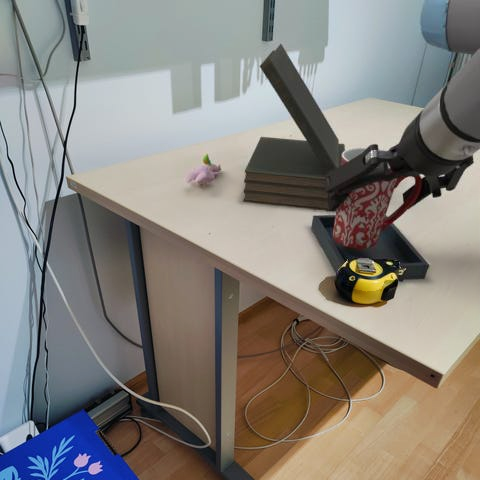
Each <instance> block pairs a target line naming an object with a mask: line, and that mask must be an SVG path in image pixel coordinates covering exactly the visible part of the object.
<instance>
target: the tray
mask: <svg viewBox="0 0 480 480" xmlns="http://www.w3.org/2000/svg"><path fill="white" fill-rule="evenodd" d="M335 215H336V214H327V215H326V214H322V215H321V214H320V215H319V214H318V215H315V214H314V215H312V221H311V227H310V229H311V231H312V233H313V234H314V237H315V238H316V241H317V242H318V244H319V245H320V247H321V249H322V251H323V253H324V255H325V257H326V259H327V260H328V262H329V264H330V266H331V268H332V269H333V271H334V273H335V275H336V276H337V271H338V269H339V268H340V267H341V266H342V265H343V264H344V263H345V262H346V261H347V259H349V258H353V257H362V258H369V259H389V260H397V261H399V262H400V264H399V265H400V267H401V268H406V270H405V274H404V275H400V276H399V277H398V280H397V281H412V280H414V281H415V280H425V279H426V276H427V273H428V271H429V268H430V266H431V265H430V264H429V262H428V261H427V260H426V259H425V258H424V256H423V255H422V254H421V253H420V252H419V250H417V248H416V247H415V246H414V245H413V244H412V243H411V242H410V241H409V240H408V238H407V237H406V236H405V234H403V233H402V231H401V230H400V229H399V227H397V226H396V224H395V223H394V222H393V223H392V224H390V225H389V226H388V227H386V228H385V229H383V230H382V231H381V232H380V234H379V238H378V241H377V243H376V244H375V245H374V246H373V247H370V248H366V249H354V248H349V247H345V246H343V245H341V244H339V243H337V242H336V241H335V240H334V238H333V230H334V223H335ZM387 217H388V215H386V216H385V218H387Z"/></svg>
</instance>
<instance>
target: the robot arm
mask: <svg viewBox="0 0 480 480" xmlns="http://www.w3.org/2000/svg"><path fill="white" fill-rule="evenodd" d="M419 24H420V31H421V36H422V38H423V40H424V41H425V42H426V44H428V45H430V46H433V47H434V48H438V49H443V50H445V51H448V52H450V53H458V54H466V55H471V57H470V58H468V60H467V61H466V62H465V64H463V66H462V67H461V68H460V69H459V70H457V71H458V72H456V74H455V75H454V76H453V77H452V78H451V79H450V80H448V82H447V83H446V84H445V85H444V86H443V87H442V88H441V89H440V90H439V91H438V92H437V93H436V94H435V96H434V97H433V98H432V99H431V100H430V101H428V103H427V104H426V105H425V106H424V107H423V109H422V110H421V111H419V113H418V114H417V115H416V116H415V117H414V118H413V120H411V122H409V124H408V125H407V126H406V128H405V129H404V130H403V133H402V134H401V135H402V136H401V137H400V140H399V141H398V143H397V144H395V145H393V146H391V147H390V148H389V149H388V150H387V151H379V150H378V149H379V145H378V144H377V143H373V144H372V143H371V144H370V145H368V146H367V147H366V148H367V149H366V150H365V151H364V152H363V153H361V154H360V155H358V156H356V157H355V158H353V159H351V160H350V161H348V162H346V163H345V164H343V165H341V166H340V167H338V168H336V169H335V170H333V171H331V172H330V173H328V174H326V175H325V182H326V193H329V194H328V207H329V211H328V212H329V213H331V212H335V211H334V210H335V209H336V208H337V207H338V206H339V205H340V204H341V203H342V202H343V201H344V200H345V199H346V198H347V197H348V192H351V191H353V190H356V189H359V188H361V187H364V186H367V185H369V184H372V183H375V182H378V181H380V180H383V181H386V182H387V181H390V180H393V179H396V178H399V177H401V176H404V177H407V176H409V175H411V176H418V175H420V176H421V175H423V177H421V178H422V187H421V191H420V193H419V195H418V197H417V199H416V200H415V202H414V203H413V204H412V206H411V207H410V208H409V209H408V210H410V209H412V208H413V207H415V206H416V205H418V204H419V203H420V202H422V201H423V200H425V199H426V198H427V197H430V195H432V198H434V199H436V198H440V197H442V189H445V191H446V192H451V191H453V190H455V189H456V187H457V186H458V184H459V182H460V180H461V179H462V177H463V174H464V173H465V171H466V170H467V169H468V168H469V167H471V166H472V165H473V164H474V163H475V162H474V154H475V153H477V152H478V151H479V150H480V0H424V1H423V4H422V7H421V11H420V19H419ZM388 164H389V166H390V168H391V170H392V172H391V173H389V170H388ZM407 178H408V177H407ZM414 186H415V183H414V184H413V185H411V186H410V187H409V188H407V190H405V191H404V192H402V193H401V194H402V195H401V196H402V204H403V203H404V202H405V201H406V200H407V199H408V197H409V196H410V195H411V193H412V191H413V189H414Z"/></svg>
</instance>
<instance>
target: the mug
mask: <svg viewBox="0 0 480 480" xmlns="http://www.w3.org/2000/svg"><path fill="white" fill-rule="evenodd" d="M367 148H368V147H354V148H348V149H345V151H344V152H343V153H342V155H341V156H342V165H343V164H345V163H346V162H348V161H350V160H351V159H353V158H355V157H356V156H358V155H360V154H361V153H363V152H364V151H365V150H366V149H367ZM378 150H379V151H388V150H387V149H383V148H378ZM388 170H389V173H391V172H392V170H391V168H390V166H389V164H388ZM407 178H414V184H415V186H414V189H413V191H412V193H411V195H410V196H409V197H408V199H407V200H406V201H405V202H404V203H403V202H402V203H401V205H400V206H399V207H398V208H397V209H396V210H394V211H393V212H392V213H391V214H390V215H387V212H388V209H389V206H390V203H391V200H392V197H393V194H394V191H395V189H397V188H398V187H399V186H400V183H402V182H403V181H404V180H405V179H407ZM422 178H423V177H422V176H421V174H420V175H418V176H411V175H409V176H407V177H404V176H401V177H399V178H396V179H393V180H390V181H387V182H386V181H383V180H380V181H378V182H375V183H372V184H369V185H367V186H364V187H361V188H359V189H356V190H353V191H351V192H348V197H347V198H346V199H345V200H344V201H343V202H342V203H341V204H340V205H339V206H338V207H337V208H336V211H335V214H334V215H335V223H334V230H333V238H334V240H335V241H336V242H337V243H339V244H341V245H343V246H345V247H349V248H354V249H366V248H370V247H373V246H374V245H375V244H376V243H377V241H378V238H379V234H380V232H381V231H382V230H383V229H385V228H386V227H388V226H389V225H390V224H392V223H393V224H394V223H395V221H397V220H398V219H399V218H401V217H402V216H403V215H404V214H405V213H406V212H407V211H408V210H410V209H411V208H412V207H411V206H412V204H413V203H414V202H415V200H416V199H417V197H418V195H419V193H420V191H421V187H422ZM410 207H411V208H410ZM409 208H410V209H409ZM385 216H387V218H385Z"/></svg>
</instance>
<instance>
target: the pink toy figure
mask: <svg viewBox="0 0 480 480" xmlns="http://www.w3.org/2000/svg"><path fill="white" fill-rule="evenodd" d="M202 162H203V164H204V165H200V166H196V167H195V168H194V169H193V171H191V172H188V173H187V174H186V175H185V179H186V183H187V184H189V183H191V182H192V181H194V182H193V183H194V185H196V184H200V185H202V186H203V185H207V184H209V183H211V182H213V181H214V180H215V177H217V176H218V175H222V174H223V172H222V168H221V167H222V166H221V165H220V164H218V165H217V164H215V163H212V162H211V160H210V157H209V154H208V153H207V154H205V155H204V156H203V159H202Z"/></svg>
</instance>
